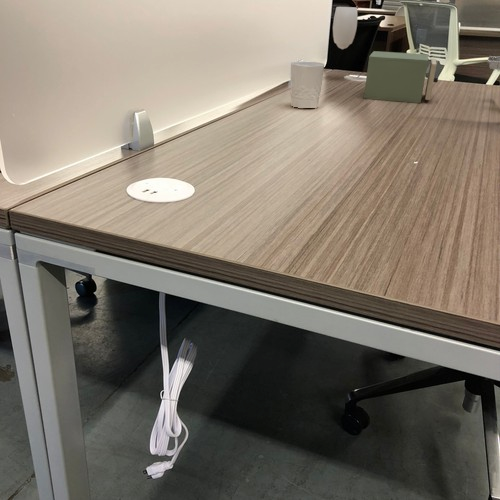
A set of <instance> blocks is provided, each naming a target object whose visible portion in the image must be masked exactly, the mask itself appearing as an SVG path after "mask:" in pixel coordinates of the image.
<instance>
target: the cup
mask: <svg viewBox="0 0 500 500" xmlns="http://www.w3.org/2000/svg"><path fill="white" fill-rule="evenodd" d="M357 27H358V7H352V6H336V8H335V12H334V16H333V23H332V38H333V42H334V44H336V46H337V48H338V49H341V50H344V49H347V48H348V47H349V46H350V45H352V44H353V42H354V39H355V36H356V33H357Z"/></svg>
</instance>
